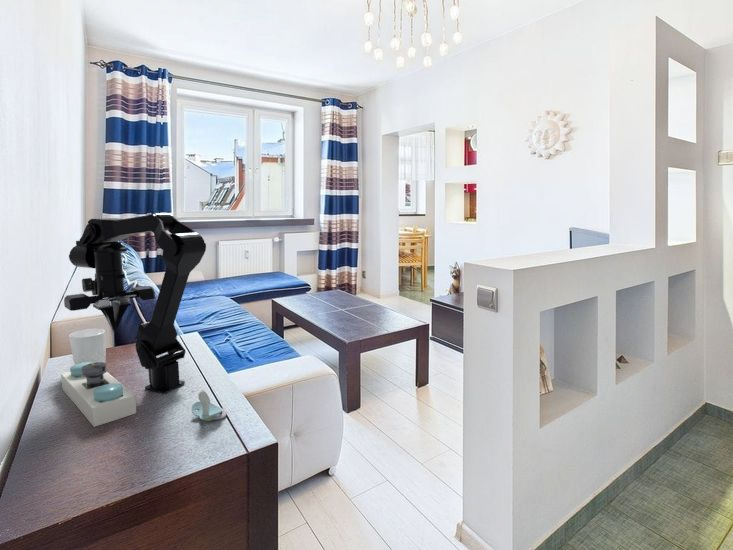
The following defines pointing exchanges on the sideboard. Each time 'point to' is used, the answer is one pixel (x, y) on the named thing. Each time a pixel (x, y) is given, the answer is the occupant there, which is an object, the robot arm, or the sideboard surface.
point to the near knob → (108, 392)
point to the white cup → (88, 346)
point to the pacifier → (207, 408)
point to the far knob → (78, 369)
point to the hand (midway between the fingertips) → (114, 330)
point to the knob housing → (95, 409)
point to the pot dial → (94, 374)
